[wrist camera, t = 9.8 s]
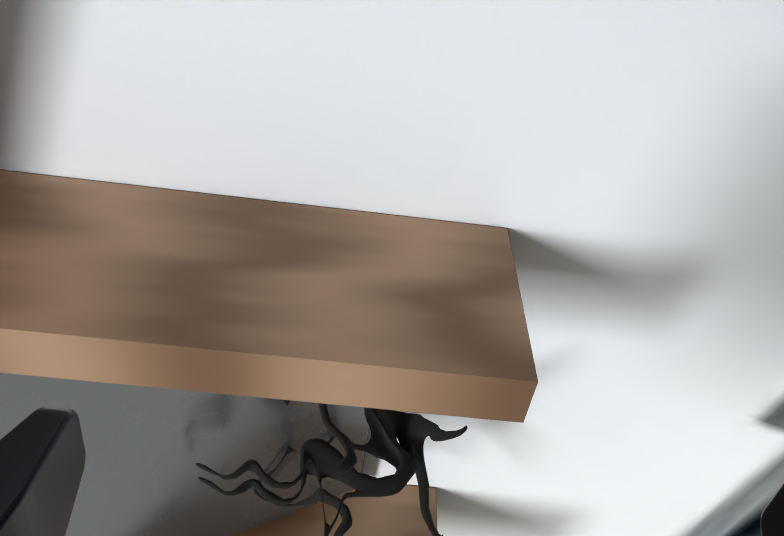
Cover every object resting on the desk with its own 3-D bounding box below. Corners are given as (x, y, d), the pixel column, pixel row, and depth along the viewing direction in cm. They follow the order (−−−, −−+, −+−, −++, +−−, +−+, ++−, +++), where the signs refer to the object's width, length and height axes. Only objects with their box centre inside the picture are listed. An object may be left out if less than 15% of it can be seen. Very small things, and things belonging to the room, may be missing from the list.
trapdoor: (382, 265, 24) (394, 280, 23) (350, 472, 30) (359, 487, 30) (-37, 359, 18) (-34, 381, 18) (36, 585, 25) (39, 606, 25)
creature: (203, 495, 27) (409, 457, 29) (215, 640, 23) (452, 585, 25) (180, 346, 22) (430, 313, 24) (191, 500, 18) (489, 445, 20)
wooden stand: (507, 228, 23) (538, 381, 18) (429, 508, 32) (435, 663, 27) (-41, 165, 22) (-179, 310, 16) (41, 474, 31) (-30, 630, 26)
